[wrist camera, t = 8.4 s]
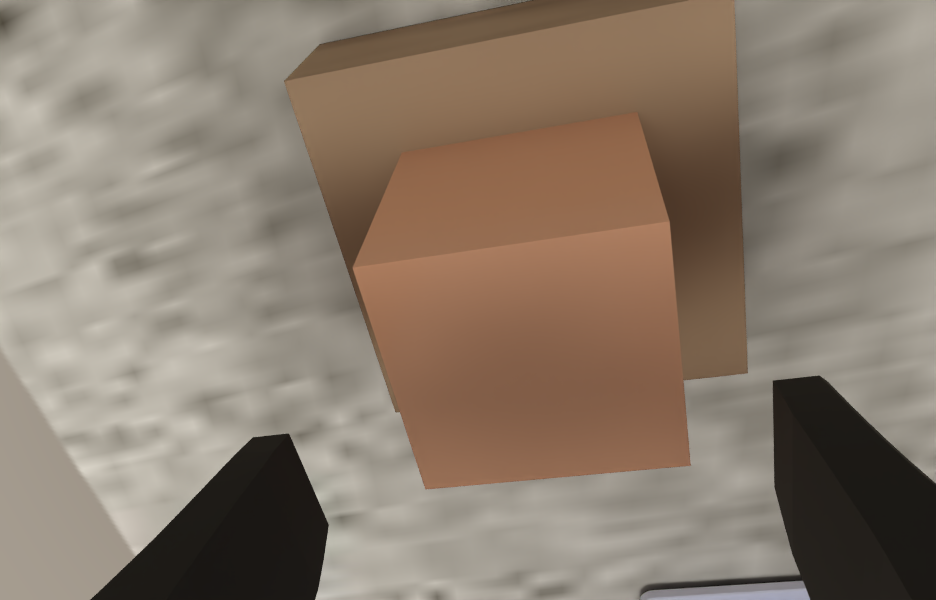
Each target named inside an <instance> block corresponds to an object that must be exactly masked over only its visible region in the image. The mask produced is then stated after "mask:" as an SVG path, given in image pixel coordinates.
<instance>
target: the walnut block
mask: <svg viewBox="0 0 936 600" xmlns="http://www.w3.org/2000/svg"><path fill="white" fill-rule="evenodd" d="M284 82H285V85H286V88H287V91H288V94H289V97H290V100H291V103H292V106H293V109H294V112H295V115H296V118H297V121H298V124H299V127H300V130H301V133H302V136H303V139H304V142H305V145H306V148H307V151H308V154H309V157H310V160H311V162H312V165H313V168H314V171H315V174H316V177H317V180H318V183H319V186H320V189H321V192H322V195H323V198H324V201H325V204H326V207H327V210H328V213H329V216H330V219H331V222H332V225H333V228H334V231H335V234H336V237H337V240H338V243H339V246H340V249H341V251H342V254H343V257H344V260H345V263H346V266H347V269H348V272H349V275H350V278H351V281H352V284H353V287H354V290H355V293H356V296H357V299H358V302H359V305H360V308H361V311H362V314H363V317H364V320H365V323H366V326H367V329H368V332H369V335H370V337H371V340H372V343H373V346H374V349H375V352H376V355H377V358H378V361H379V364H380V367H381V370H382V373H383V376H384V379H385V382H386V385H387V388H388V391H389V394H390V397H391V400H392V403H393V406H394V409H395V412H400V410H399V407H398V404H397V401H396V398H395V395H394V392H393V389H392V386H391V383H390V380H389V377H388V374H387V371H386V368H385V365H384V362H383V359H382V356H381V353H380V350H379V347H378V344H377V341H376V338H375V334H374V331H373V328H372V325H371V322H370V319H369V316H368V313H367V310H366V307H365V304H364V301H363V298H362V295H361V292H360V289H359V286H358V283H357V280H356V277H355V274H354V271H353V266H354V263H355V261H356V258H357V256H358V254H359V251H360V249H361V247H362V244H363V242H364V240H365V237H366V235H367V233H368V230H369V228H370V226H371V223H372V221H373V219H374V216H375V214H376V212H377V209H378V207H379V205H380V202H381V200H382V198H383V195H384V193H385V191H386V188H387V186H388V184H389V181H390V179H391V177H392V174H393V172H394V170H395V167H396V165H397V163H398V160H399V158H400V156H401V153H403V152H408V151H414V150H420V149H426V148H432V147H437V146H443V145H449V144H455V143H460V142H466V141H472V140H478V139H484V138H489V137H495V136H501V135H507V134H513V133H518V132H524V131H530V130H536V129H541V128H547V127H553V126H559V125H565V124H570V123H576V122H582V121H588V120H593V119H599V118H605V117H611V116H617V115H622V114H628V113H634V112H637V113H638V116H639V120H640V123H641V126H642V130H643V133H644V136H645V140H646V143H647V147H648V150H649V153H650V157H651V160H652V163H653V167H654V170H655V174H656V177H657V180H658V184H659V187H660V191H661V194H662V197H663V201H664V204H665V207H666V211H667V214H668V218H669V221H670V231H671V243H672V255H673V266H674V278H675V290H676V301H677V313H678V325H679V336H680V348H681V359H682V371H683V380H691V379H700V378H709V377H718V376H727V375H736V374H745V373H748V368H747V340H746V312H745V285H744V257H743V229H742V202H741V174H740V146H739V119H738V91H737V64H736V36H735V8H734V0H532V1H527V2H523V3H518V4H513V5H508V6H503V7H499V8H494V9H489V10H484V11H479V12H474V13H470V14H465V15H460V16H455V17H450V18H445V19H441V20H436V21H431V22H426V23H421V24H416V25H412V26H407V27H402V28H397V29H392V30H387V31H383V32H378V33H373V34H368V35H363V36H358V37H354V38H349V39H344V40H339V41H334V42H329V43H325V44H320V45H319V46H318V47H317V48H316V49H315V50H314V51H313V52H312V53H311V54H310V55H309V56H308V57H307V58H306V59H305V60H304V61H303V62H302V63H301V64H300V65H299V66H298V67H297V68H296V69H295V70H294V71H293V73H292V74H291V75H290V76H289V77H288V78H287V79H286V80H285V81H284Z"/></svg>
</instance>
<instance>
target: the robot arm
mask: <svg viewBox="0 0 936 600" xmlns="http://www.w3.org/2000/svg"><path fill="white" fill-rule="evenodd" d="M773 419H774V482H775V491H776V494H777V498H778V502H779V506H780V510H781V514H782V517H783V521H784V525H785V529H786V532H787V536H788V539H789V543H790V547H791V550H792V554H793V557H794V559H795V562H796V564H797V567H798V570H799V572H800V575H801V577H802V580H803V581H790V582H774V583H759V584H743V585H727V586H711V587H696V588H680V589H664V590H651V591H647V592H645V593H643V594H642V596H641V597H640V600H936V483H934V482H933V481H932V480H931V479H930V478H929V477H928V476H926V475H925V474H924V473H923V472H922V471H921V470H920V469H918V468H917V467H916V466H915V465H914V464H913V463H912V462H910V461H909V460H908V459H907V458H906V457H905V456H904V455H903V454H901V453H900V452H899V451H898V450H897V449H896V448H895V447H894V446H893V445H892V444H891V443H889V442H888V441H887V440H886V439H885V438H884V437H883V436H882V435H881V434H880V433H879V432H878V431H877V430H876V429H875V428H874V427H873V426H872V425H870V424H869V423H868V422H867V421H866V420H865V419H864V418H863V417H862V416H861V415H860V414H859V413H858V412H857V411H856V410H855V409H854V408H853V407H852V406H851V405H850V404H849V403H848V402H847V401H846V400H845V399H844V398H843V397H842V396H841V395H840V394H839V393H838V392H837V391H836V390H835V389H834V388H833V387H832V386H831V385H830V384H829V383H828V382H827V381H826V380H825V379H823V378H822V377H821V376H812V377H803V378H794V379H784V380H775V381H773ZM328 526H329V525H328V522H327V520H326V518H325V515H324V513H323V511H322V508H321V506H320V504H319V502H318V499H317V497H316V495H315V492H314V490H313V488H312V485H311V483H310V481H309V479H308V476H307V474H306V472H305V469H304V467H303V465H302V462H301V460H300V458H299V456H298V453H297V451H296V449H295V446H294V444H293V442H292V439H291V437H290V435H289V434H280V435H271V436H262V437H253V438H252V439H251V440H250V441H249V442H248V443H247V444H246V445H245V446H243V447H242V448H241V449H240V450H239V451H238V452H237V453H236V454H235V455H234V456H233V457H232V458H231V460H230V461H229V462H228V463H227V464H226V465H225V466H224V467H223V468H222V469H221V470H220V471H219V472H218V473H217V474H216V475H215V476H214V477H213V478H212V479H211V480H210V481H209V482H208V484H207V485H206V486H205V487H204V488H203V489H202V490H201V491H200V492H199V493H198V494H197V495H196V496H195V497H194V498H193V499H192V500H191V501H190V502H189V503H188V504H187V505H186V506H185V508H184V509H183V510H182V511H181V512H180V513H179V514H178V515H177V516H176V517H175V518H174V519H173V520H172V521H171V522H170V523H169V524H168V525H167V526H166V527H165V528H164V529H163V530H162V531H161V532H160V533H159V534H158V535H157V536H156V537H155V538H154V539H153V540H152V541H151V542H150V543H149V544H148V545H147V546H146V547H145V548H144V549H143V550H142V551H141V552H140V553H139V554H138V555H137V556H136V557H135V558H134V559H133V560H132V561H131V562H130V563H129V564H128V565H127V566H126V567H124V568H123V569H122V570H121V571H120V572H119V573H118V574H117V575H116V576H115V577H114V578H113V579H112V580H111V581H110V582H109V583H108V584H107V585H106V586H105V587H104V588H103V589H101V590H100V591H99V592H98V593H97V594H96V595H95V596H94V597H93V598H92V599H91V600H315V598H316V594H317V591H318V587H319V582H320V576H321V571H322V565H323V560H324V553H325V546H326V540H327V533H328Z"/></svg>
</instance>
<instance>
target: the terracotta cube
mask: <svg viewBox="0 0 936 600" xmlns="http://www.w3.org/2000/svg"><path fill="white" fill-rule="evenodd" d="M353 271H354V274H355V277H356V280H357V283H358V286H359V289H360V292H361V295H362V298H363V301H364V304H365V307H366V310H367V313H368V316H369V319H370V322H371V325H372V328H373V331H374V334H375V338H376V341H377V344H378V347H379V350H380V353H381V356H382V359H383V362H384V365H385V368H386V371H387V374H388V377H389V380H390V383H391V386H392V389H393V392H394V395H395V398H396V401H397V404H398V407H399V410H400V413H401V416H402V419H403V422H404V426H405V429H406V432H407V435H408V438H409V441H410V444H411V447H412V450H413V453H414V456H415V459H416V462H417V465H418V468H419V471H420V474H421V477H422V480H423V483H424V486H425V489H435V488H446V487H457V486H468V485H480V484H491V483H502V482H513V481H524V480H535V479H546V478H558V477H569V476H580V475H591V474H602V473H613V472H625V471H636V470H647V469H658V468H669V467H680V466H691V464H690V453H689V441H688V429H687V418H686V406H685V394H684V383H683V371H682V359H681V348H680V336H679V325H678V313H677V301H676V290H675V278H674V266H673V255H672V243H671V231H670V221H669V218H668V214H667V211H666V207H665V204H664V201H663V197H662V194H661V191H660V187H659V184H658V180H657V177H656V174H655V170H654V167H653V163H652V160H651V157H650V153H649V150H648V147H647V143H646V140H645V136H644V133H643V130H642V126H641V123H640V120H639V116H638V113H637V112H634V113H628V114H622V115H617V116H611V117H605V118H599V119H593V120H588V121H582V122H576V123H570V124H565V125H559V126H553V127H547V128H541V129H536V130H530V131H524V132H518V133H513V134H507V135H501V136H495V137H489V138H484V139H478V140H472V141H466V142H460V143H455V144H449V145H443V146H437V147H432V148H426V149H420V150H414V151H408V152H403V153H401V156H400V158H399V160H398V163H397V165H396V167H395V170H394V172H393V174H392V177H391V179H390V181H389V184H388V186H387V188H386V191H385V193H384V195H383V198H382V200H381V202H380V205H379V207H378V209H377V212H376V214H375V216H374V219H373V221H372V223H371V226H370V228H369V230H368V233H367V235H366V237H365V240H364V242H363V244H362V247H361V249H360V251H359V254H358V256H357V258H356V261H355V263H354V266H353Z"/></svg>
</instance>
